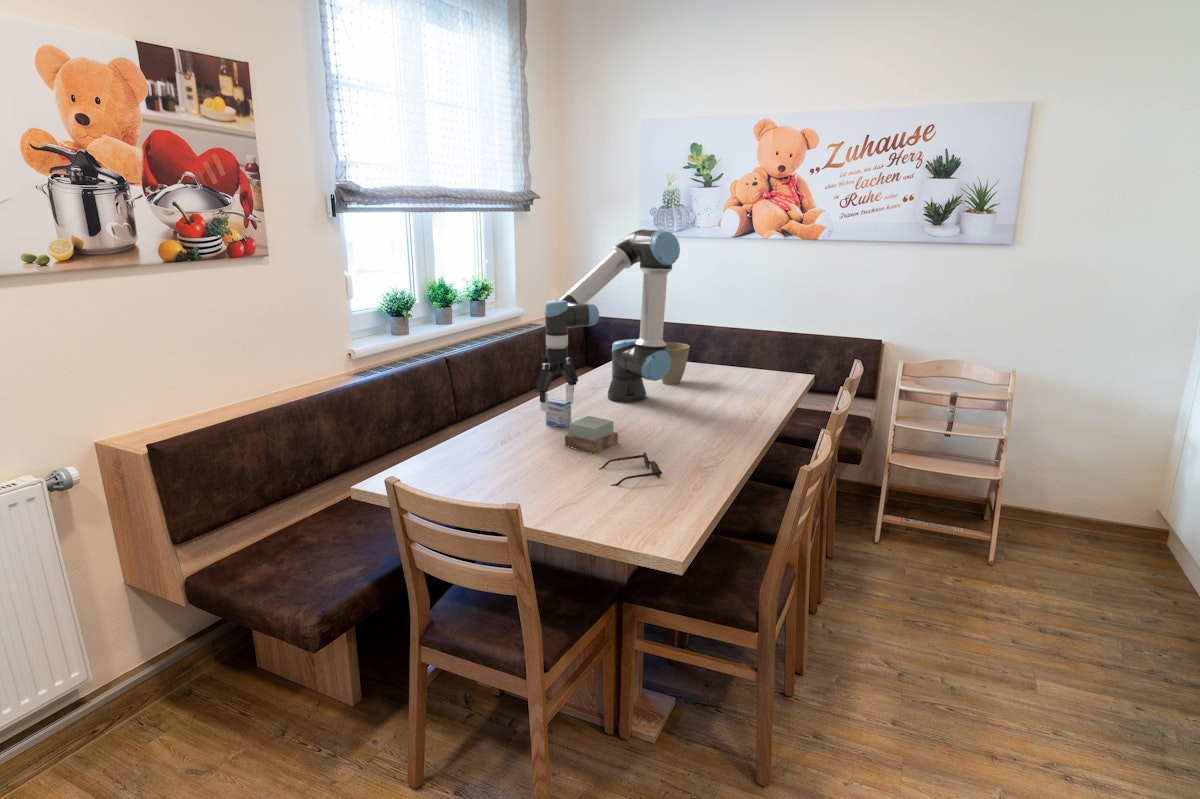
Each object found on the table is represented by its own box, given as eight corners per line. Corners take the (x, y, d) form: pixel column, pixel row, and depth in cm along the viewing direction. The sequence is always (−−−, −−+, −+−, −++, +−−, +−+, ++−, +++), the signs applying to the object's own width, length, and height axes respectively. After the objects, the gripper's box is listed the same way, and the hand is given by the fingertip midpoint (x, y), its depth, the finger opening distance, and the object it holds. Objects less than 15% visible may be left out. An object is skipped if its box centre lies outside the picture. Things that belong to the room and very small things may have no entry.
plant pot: (664, 376, 315) (665, 341, 311) (694, 381, 307) (695, 344, 303) (646, 384, 304) (647, 346, 299) (677, 389, 295) (678, 351, 291)
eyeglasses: (662, 482, 201) (662, 465, 200) (611, 488, 197) (611, 471, 196) (644, 464, 215) (644, 448, 214) (596, 469, 211) (596, 453, 209)
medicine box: (545, 424, 251) (545, 401, 248) (552, 421, 255) (551, 397, 252) (565, 428, 247) (564, 403, 245) (571, 424, 251) (571, 400, 249)
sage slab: (588, 427, 237) (588, 415, 235) (613, 433, 231) (613, 421, 230) (569, 435, 229) (569, 423, 228) (594, 441, 223) (594, 429, 222)
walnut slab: (588, 437, 239) (588, 426, 238) (617, 444, 232) (617, 433, 231) (565, 447, 230) (564, 435, 228) (595, 455, 223) (594, 443, 222)
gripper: (571, 339, 255) (571, 397, 261) (523, 350, 236) (524, 412, 241) (588, 342, 251) (587, 401, 256) (540, 353, 231) (541, 416, 237)
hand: (557, 406), depth 249 cm, fingers open, 13 cm apart
